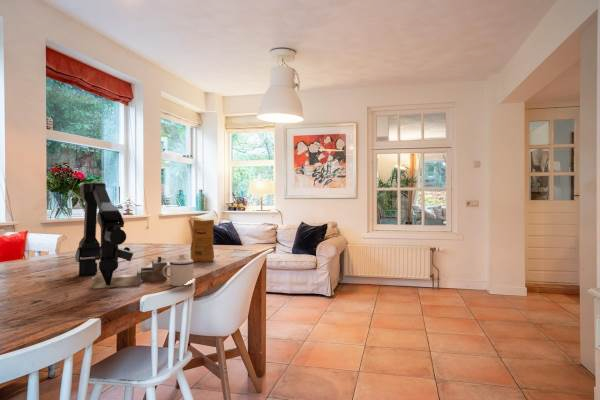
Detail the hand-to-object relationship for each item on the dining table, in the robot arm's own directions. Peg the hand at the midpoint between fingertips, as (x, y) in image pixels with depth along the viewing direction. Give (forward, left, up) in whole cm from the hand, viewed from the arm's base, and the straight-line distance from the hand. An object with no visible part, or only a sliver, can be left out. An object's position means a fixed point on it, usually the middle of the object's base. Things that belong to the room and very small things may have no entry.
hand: (108, 283), depth 148 cm
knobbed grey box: (+17, +8, -1) cm, 18 cm away
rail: (+3, 0, -1) cm, 3 cm away
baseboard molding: (+19, +31, -2) cm, 36 cm away
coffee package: (+45, +46, -1) cm, 64 cm away
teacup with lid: (+25, -6, -1) cm, 25 cm away
